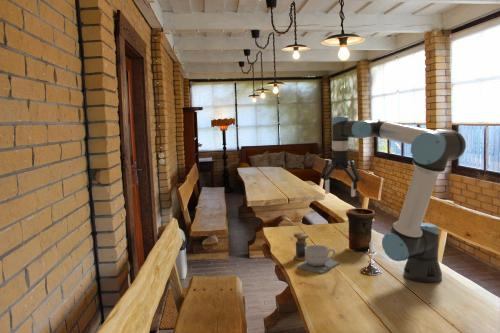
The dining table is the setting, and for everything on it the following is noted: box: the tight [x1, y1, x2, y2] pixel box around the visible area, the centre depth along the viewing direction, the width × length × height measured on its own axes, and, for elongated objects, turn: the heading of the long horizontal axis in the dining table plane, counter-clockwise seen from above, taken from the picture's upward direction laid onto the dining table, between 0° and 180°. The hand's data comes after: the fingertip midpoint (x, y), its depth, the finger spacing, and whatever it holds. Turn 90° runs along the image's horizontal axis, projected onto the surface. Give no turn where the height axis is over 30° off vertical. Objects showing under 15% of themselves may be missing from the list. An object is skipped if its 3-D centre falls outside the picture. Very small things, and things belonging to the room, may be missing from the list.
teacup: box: [305, 244, 336, 266], centre depth 196 cm, size 14×11×8 cm
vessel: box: [345, 207, 376, 253], centre depth 220 cm, size 14×14×20 cm
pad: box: [296, 259, 340, 275], centre depth 197 cm, size 13×16×1 cm
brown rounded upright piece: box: [293, 232, 309, 262], centre depth 207 cm, size 7×7×12 cm
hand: (340, 194), depth 201 cm, fingers open, 13 cm apart
